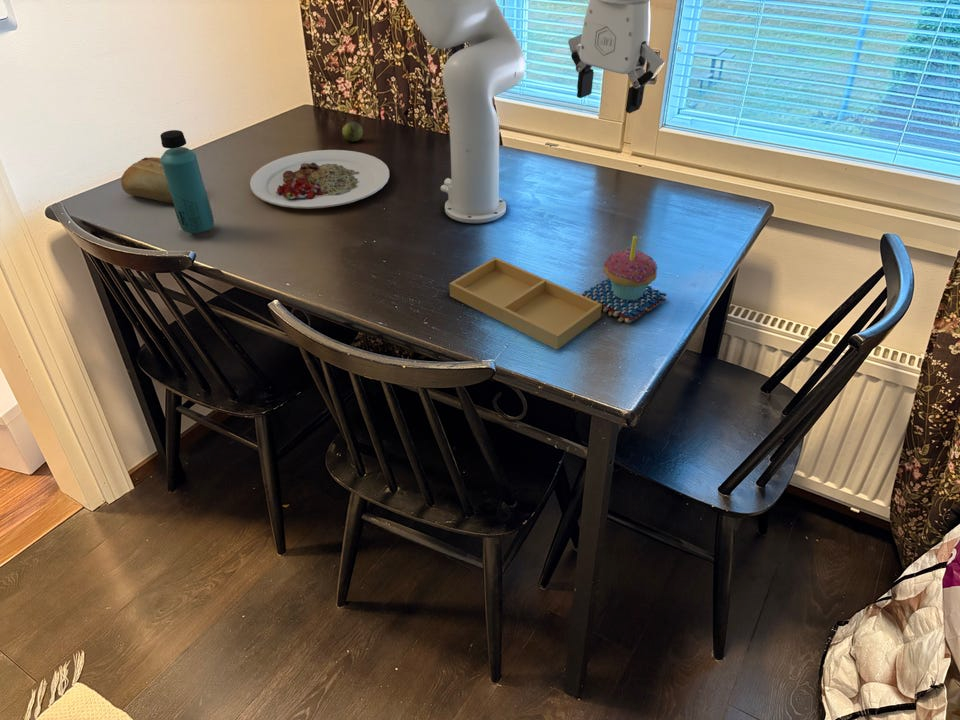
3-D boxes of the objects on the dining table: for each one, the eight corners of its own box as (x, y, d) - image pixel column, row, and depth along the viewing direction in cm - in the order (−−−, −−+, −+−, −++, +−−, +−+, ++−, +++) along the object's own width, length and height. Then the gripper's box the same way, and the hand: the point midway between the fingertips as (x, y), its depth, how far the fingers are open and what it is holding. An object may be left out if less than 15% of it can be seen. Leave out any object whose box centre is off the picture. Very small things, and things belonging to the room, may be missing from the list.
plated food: (405, 161, 167) (404, 147, 165) (367, 220, 144) (365, 204, 142) (283, 153, 171) (281, 140, 169) (227, 209, 148) (223, 194, 146)
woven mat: (616, 278, 126) (618, 268, 124) (667, 302, 119) (669, 292, 118) (578, 301, 120) (579, 291, 119) (629, 327, 114) (630, 317, 113)
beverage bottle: (223, 227, 142) (198, 128, 129) (203, 243, 137) (174, 141, 124) (195, 222, 143) (168, 124, 131) (174, 238, 138) (144, 136, 126)
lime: (340, 142, 177) (338, 122, 174) (355, 136, 180) (353, 117, 177) (352, 146, 175) (350, 126, 171) (367, 141, 177) (365, 121, 174)
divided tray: (449, 296, 121) (449, 283, 120) (495, 269, 128) (495, 256, 127) (556, 350, 109) (558, 336, 108) (600, 317, 116) (602, 304, 115)
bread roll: (143, 184, 158) (131, 149, 153) (203, 191, 155) (193, 155, 150) (115, 202, 151) (102, 166, 146) (177, 210, 148) (166, 173, 143)
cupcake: (652, 309, 114) (664, 242, 107) (599, 303, 116) (606, 237, 108) (653, 281, 121) (664, 216, 113) (602, 276, 122) (610, 212, 115)
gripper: (560, -18, 109) (552, 95, 119) (658, 1, 100) (639, 123, 110) (590, -25, 113) (579, 85, 124) (686, -7, 104) (665, 111, 115)
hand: (607, 103), depth 117 cm, fingers open, 9 cm apart
